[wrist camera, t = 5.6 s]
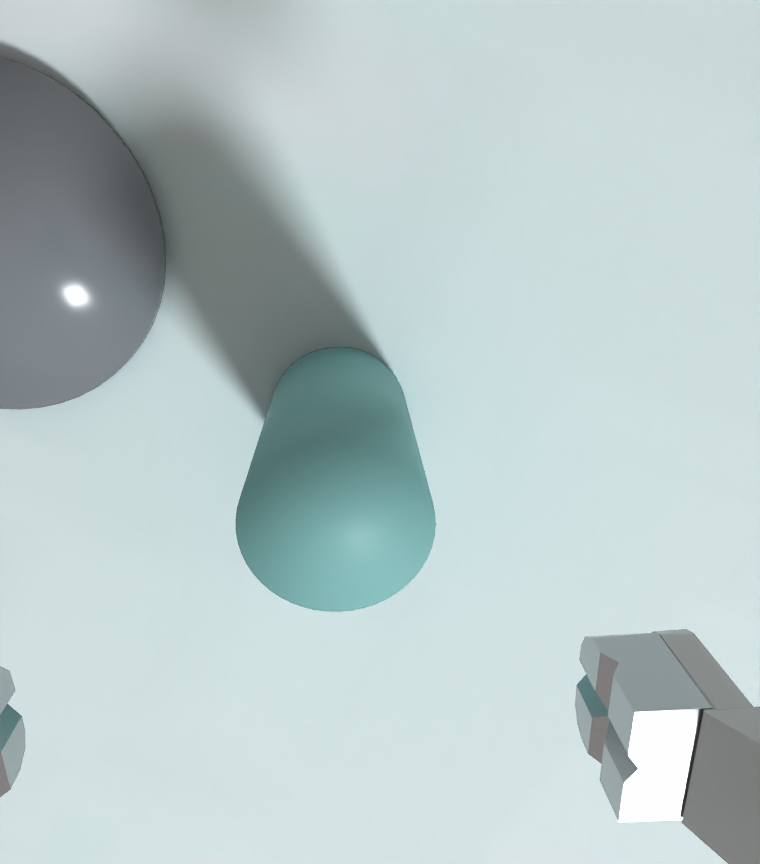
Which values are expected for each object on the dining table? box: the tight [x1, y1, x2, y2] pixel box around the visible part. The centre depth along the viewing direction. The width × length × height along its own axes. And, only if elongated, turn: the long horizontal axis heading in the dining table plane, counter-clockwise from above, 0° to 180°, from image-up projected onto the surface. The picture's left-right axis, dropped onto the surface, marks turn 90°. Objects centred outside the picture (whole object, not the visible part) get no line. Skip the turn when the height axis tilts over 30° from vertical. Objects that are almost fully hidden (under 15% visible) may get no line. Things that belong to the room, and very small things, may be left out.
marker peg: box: [236, 347, 436, 612], centre depth 17 cm, size 4×4×7 cm
